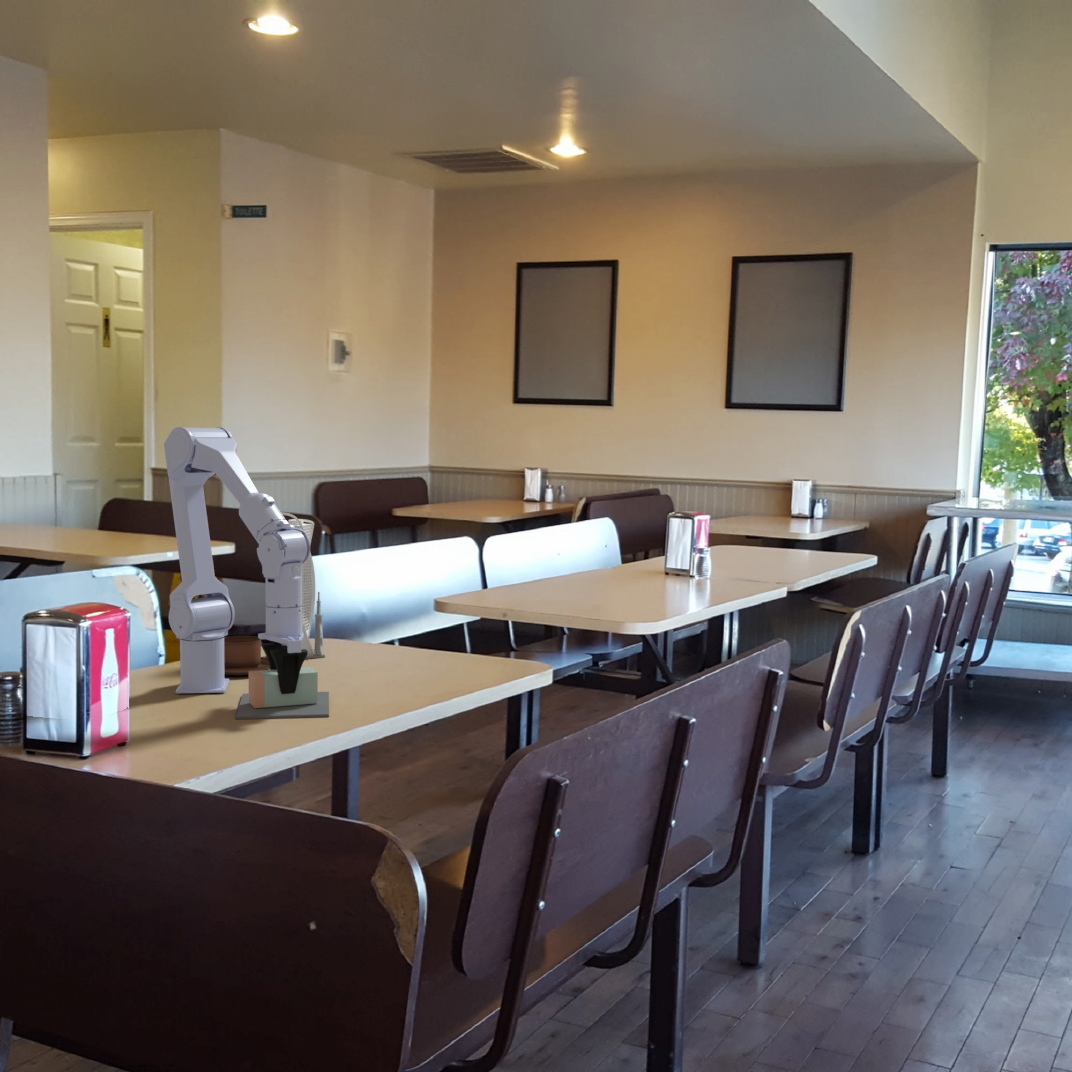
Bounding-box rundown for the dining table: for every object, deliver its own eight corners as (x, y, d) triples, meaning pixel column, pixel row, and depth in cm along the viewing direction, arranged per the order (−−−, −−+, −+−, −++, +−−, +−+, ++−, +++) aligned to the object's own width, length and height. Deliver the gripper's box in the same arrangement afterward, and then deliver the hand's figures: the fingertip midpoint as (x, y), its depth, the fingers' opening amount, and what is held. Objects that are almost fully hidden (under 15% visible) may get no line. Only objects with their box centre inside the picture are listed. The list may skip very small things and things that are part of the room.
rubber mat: (242, 695, 202) (242, 693, 202) (328, 694, 204) (328, 691, 204) (235, 719, 186) (235, 716, 186) (328, 716, 188) (328, 714, 188)
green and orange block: (310, 697, 199) (310, 667, 199) (317, 703, 195) (317, 672, 195) (248, 702, 195) (248, 671, 194) (254, 708, 191) (254, 676, 190)
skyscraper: (282, 660, 232) (281, 513, 229) (269, 653, 239) (269, 510, 236) (324, 657, 236) (324, 512, 233) (311, 650, 243) (311, 509, 240)
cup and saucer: (193, 677, 217) (192, 642, 216) (227, 664, 229) (227, 632, 228) (254, 681, 214) (253, 647, 213) (285, 669, 225) (285, 636, 225)
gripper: (249, 600, 198) (249, 682, 200) (268, 613, 185) (269, 701, 187) (292, 598, 201) (292, 679, 203) (314, 611, 188) (314, 697, 190)
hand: (284, 690), depth 195 cm, fingers closed on green and orange block, 4 cm apart
